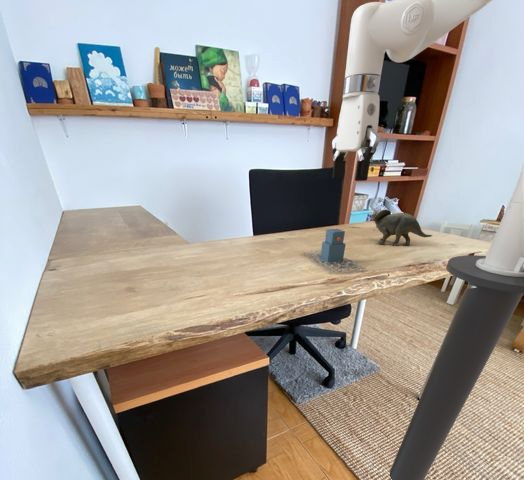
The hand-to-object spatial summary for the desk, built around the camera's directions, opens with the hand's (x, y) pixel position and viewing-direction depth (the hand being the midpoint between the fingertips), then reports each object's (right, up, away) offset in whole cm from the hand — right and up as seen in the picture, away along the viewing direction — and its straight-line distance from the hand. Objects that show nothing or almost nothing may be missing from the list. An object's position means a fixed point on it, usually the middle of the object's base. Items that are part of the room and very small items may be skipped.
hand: (348, 179), depth 74 cm
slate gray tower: (-2, -18, +10) cm, 20 cm away
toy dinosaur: (+24, -6, +29) cm, 38 cm away
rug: (-2, -18, +10) cm, 20 cm away
